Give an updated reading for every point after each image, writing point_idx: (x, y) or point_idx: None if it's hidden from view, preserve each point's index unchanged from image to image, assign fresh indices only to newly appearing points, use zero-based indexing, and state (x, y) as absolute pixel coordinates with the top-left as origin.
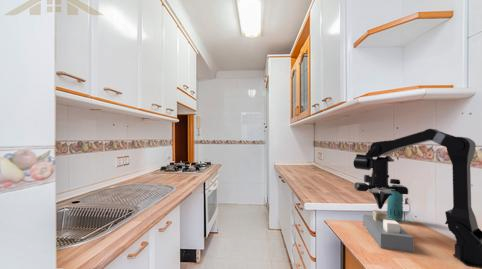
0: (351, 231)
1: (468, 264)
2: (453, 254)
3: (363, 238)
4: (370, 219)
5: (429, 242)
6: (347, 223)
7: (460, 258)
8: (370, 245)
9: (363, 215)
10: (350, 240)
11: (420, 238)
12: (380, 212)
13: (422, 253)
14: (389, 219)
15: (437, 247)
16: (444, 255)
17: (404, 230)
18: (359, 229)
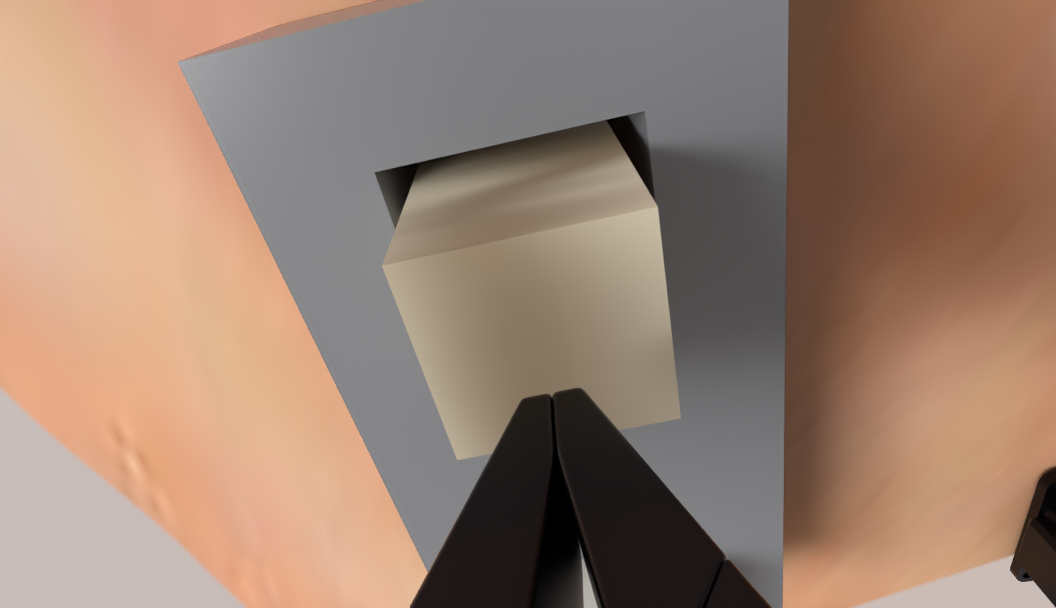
0: (198, 373)
1: (1025, 579)
2: (1048, 489)
3: (353, 484)
4: (376, 362)
5: (1046, 259)
6: (15, 58)
7: (1025, 570)
8: (421, 576)
9: (202, 86)
10: (259, 567)
11: (1017, 171)
12: (560, 369)
13: (796, 530)
14: (736, 170)
15: (1034, 359)
16: (966, 490)
17: (774, 556)
18: (265, 253)
